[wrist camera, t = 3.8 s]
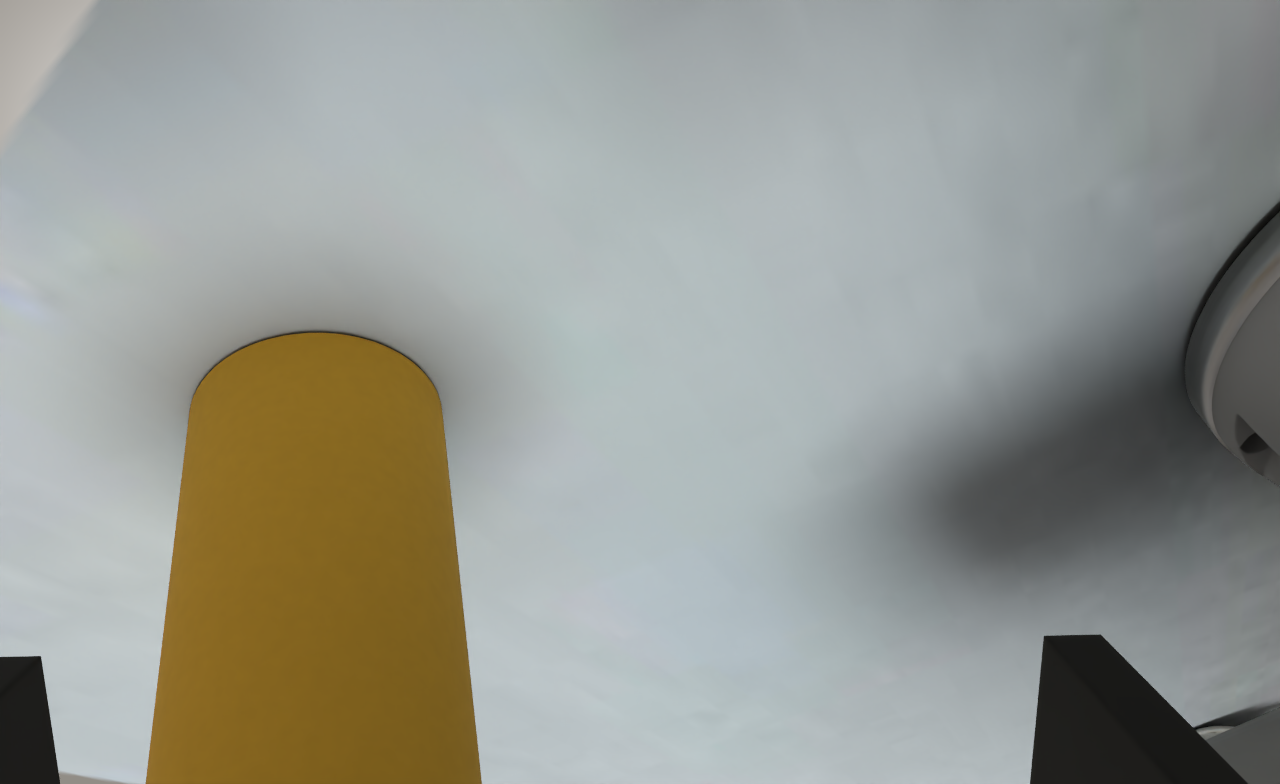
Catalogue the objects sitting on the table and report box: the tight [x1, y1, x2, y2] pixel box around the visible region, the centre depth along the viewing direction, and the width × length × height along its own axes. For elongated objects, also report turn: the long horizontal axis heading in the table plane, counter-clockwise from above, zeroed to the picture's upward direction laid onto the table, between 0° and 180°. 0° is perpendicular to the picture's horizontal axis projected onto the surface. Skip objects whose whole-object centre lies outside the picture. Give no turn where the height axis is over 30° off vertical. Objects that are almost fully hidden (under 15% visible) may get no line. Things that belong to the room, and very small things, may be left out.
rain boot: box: [146, 333, 482, 784], centre depth 27 cm, size 16×7×14 cm, turn 167°
